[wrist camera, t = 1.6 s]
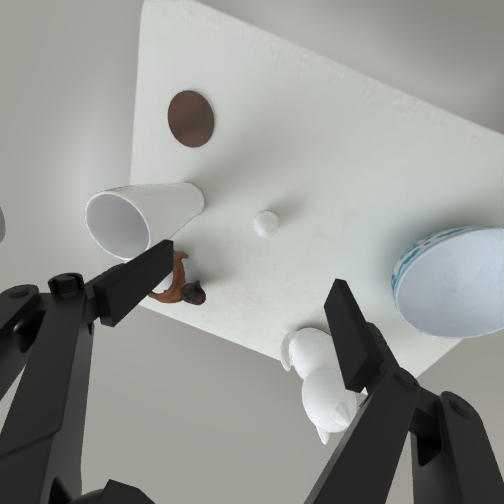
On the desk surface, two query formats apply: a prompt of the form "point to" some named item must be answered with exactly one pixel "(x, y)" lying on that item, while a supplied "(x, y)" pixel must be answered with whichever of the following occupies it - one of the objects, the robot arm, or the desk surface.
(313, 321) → the desk surface
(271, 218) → the egg
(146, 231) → the drinking glass
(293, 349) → the cat figurine
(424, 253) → the chinaware
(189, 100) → the coaster
